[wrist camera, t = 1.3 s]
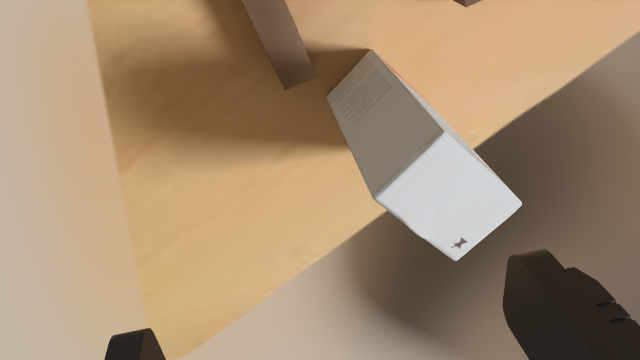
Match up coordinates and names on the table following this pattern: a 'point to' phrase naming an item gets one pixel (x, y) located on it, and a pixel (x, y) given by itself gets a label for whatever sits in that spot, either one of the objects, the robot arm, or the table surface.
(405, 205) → the skincare box
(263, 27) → the wooden u-shaped block
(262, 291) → the table surface
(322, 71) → the table surface
